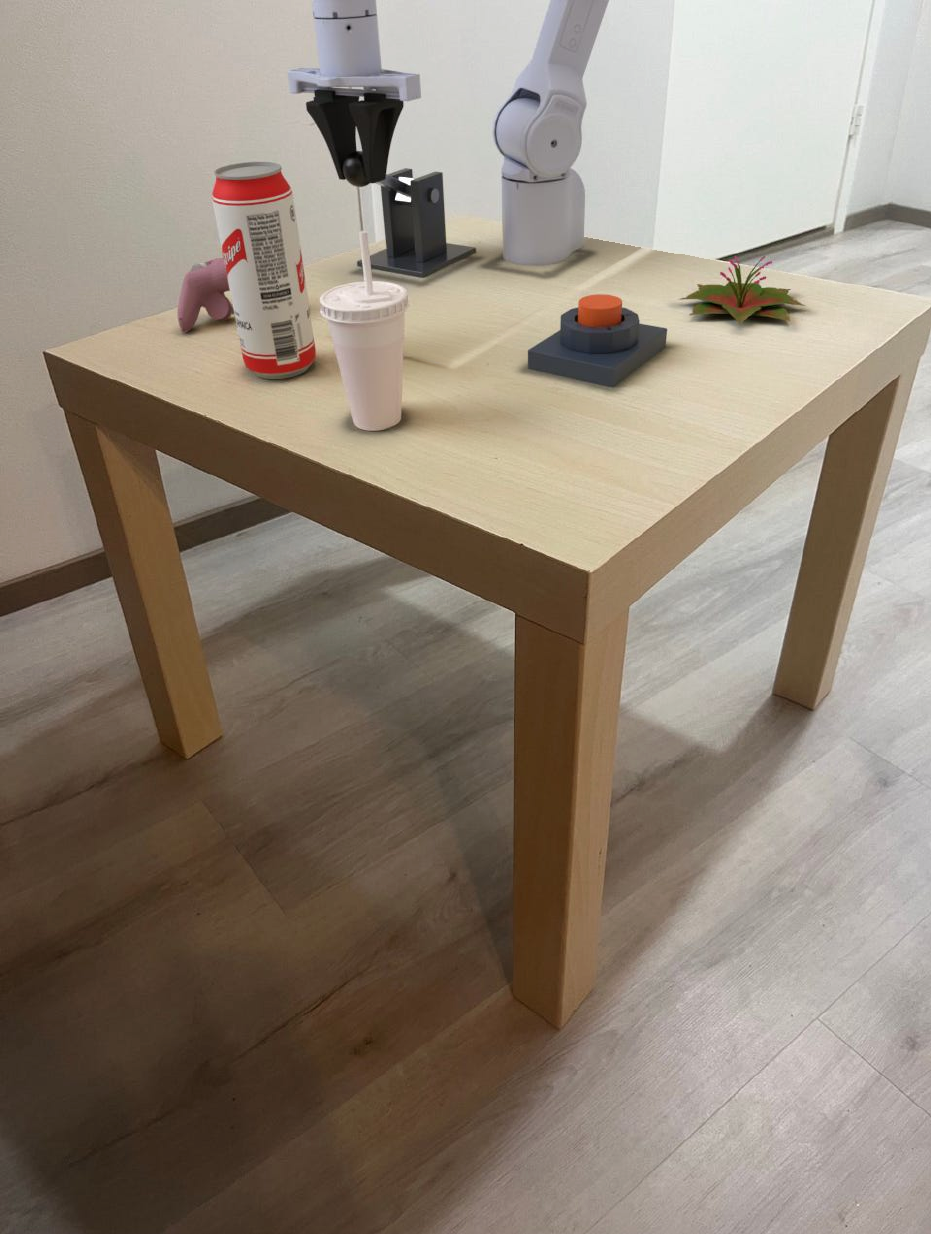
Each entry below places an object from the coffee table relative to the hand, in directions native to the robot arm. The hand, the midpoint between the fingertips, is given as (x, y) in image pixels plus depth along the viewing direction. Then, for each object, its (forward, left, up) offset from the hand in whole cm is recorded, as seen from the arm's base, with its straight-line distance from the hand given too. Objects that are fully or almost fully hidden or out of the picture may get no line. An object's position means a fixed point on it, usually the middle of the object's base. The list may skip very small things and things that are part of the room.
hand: (362, 179), depth 92 cm
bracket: (-8, 0, -10) cm, 13 cm away
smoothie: (+25, +21, -11) cm, 34 cm away
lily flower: (-11, +36, -11) cm, 39 cm away
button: (+6, +30, -7) cm, 31 cm away
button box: (+6, +30, -10) cm, 32 cm away
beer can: (+21, +7, -11) cm, 25 cm away
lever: (-3, 0, -2) cm, 4 cm away
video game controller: (+15, -5, -11) cm, 19 cm away
